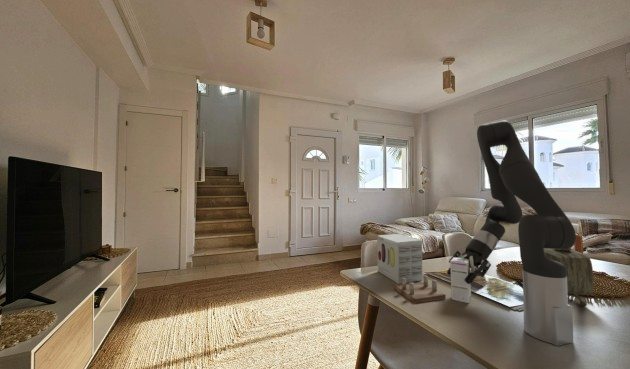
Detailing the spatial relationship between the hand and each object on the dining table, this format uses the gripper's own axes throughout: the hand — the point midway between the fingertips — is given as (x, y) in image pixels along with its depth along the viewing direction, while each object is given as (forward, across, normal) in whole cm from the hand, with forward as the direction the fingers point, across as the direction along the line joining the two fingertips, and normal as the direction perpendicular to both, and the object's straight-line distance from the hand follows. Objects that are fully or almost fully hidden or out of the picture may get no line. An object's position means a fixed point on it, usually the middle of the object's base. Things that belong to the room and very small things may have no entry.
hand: (457, 278), depth 93 cm
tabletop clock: (-20, +10, +31) cm, 39 cm away
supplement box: (+10, -28, +1) cm, 30 cm away
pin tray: (+13, -8, -2) cm, 15 cm away
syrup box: (+5, 0, +6) cm, 8 cm away
